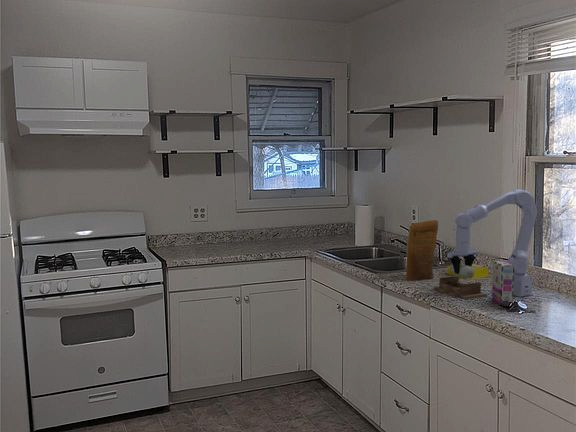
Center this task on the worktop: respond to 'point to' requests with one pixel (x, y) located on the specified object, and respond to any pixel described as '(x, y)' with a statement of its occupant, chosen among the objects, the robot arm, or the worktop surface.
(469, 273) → the paper roll
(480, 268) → the element tile
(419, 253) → the pancake mix bag
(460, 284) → the roll cradle
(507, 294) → the candy bar box
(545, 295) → the worktop surface
